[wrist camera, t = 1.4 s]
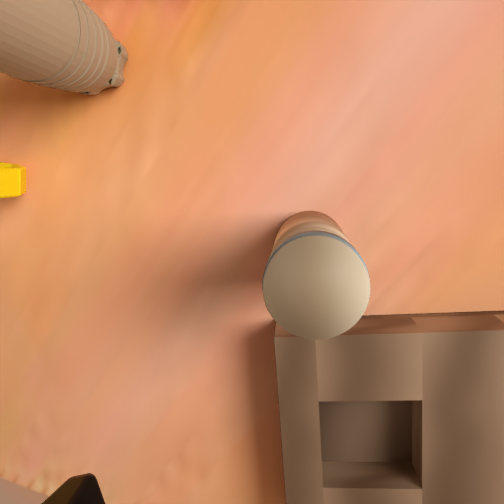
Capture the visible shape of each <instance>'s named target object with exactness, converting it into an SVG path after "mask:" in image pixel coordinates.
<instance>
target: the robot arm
mask: <svg viewBox="0 0 504 504" xmlns="http://www.w3.org/2000/svg"><path fill="white" fill-rule="evenodd" d="M42 504H105V502H104V499H103V496H102V493H101V490H100V487H99V485H98V482H97V479H96V477H95V476H94V475H93V474H91V473H88V474H83V475H78V476H74V477H71V478H69V479H68V480H67V481H66V482H65V483H64V484H63V485H61V486H60V487H59V488H58V489H57V490H56V491H55V492H54V493H53V494H52V495H51V496H50V497H48V498H47V499H46V500H45V501H44V502H43V503H42Z"/></svg>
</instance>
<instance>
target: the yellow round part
mask: <svg viewBox="0 0 504 504" xmlns="http://www.w3.org/2000/svg"><path fill="white" fill-rule="evenodd" d="M25 192H26V168H25V167H24V166H21V165H18V164H10V163H3V162H0V198H9V197H17V196H20V195H22V194H24V193H25Z"/></svg>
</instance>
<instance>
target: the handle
mask: <svg viewBox="0 0 504 504" xmlns="http://www.w3.org/2000/svg"><path fill="white" fill-rule="evenodd" d="M127 60H128V54H127V51H126V49H125V47H124V46H123V45H122V44H121V43H119V42H117V41H116V40H115V39H114V38H113V35H112V33H111V32H110V30H109V29H108V28H107V26H106V25H105V23H104V22H103V21H102V20H101V19H100V18H99V17H98V16H97V15H96V13H95V12H94V11H93V10H92V9H91V8H89V7H88V6H87V5H86V4H85V3H84V2H83V1H82V0H0V72H1V73H4V74H6V75H9V76H11V77H14V78H17V79H21V80H23V81H27V82H31V83H34V84H37V85H42V86H45V87H50V88H55V89H60V90H65V91H72V92H79V93H82V94H88V95H98V94H99V93H100V92H101V91H102V90H104V89H106V88H109V87H120V86H121V84H122V83H123V81H124V78H123V68H124V64H125V62H126V61H127Z"/></svg>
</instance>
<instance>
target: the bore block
mask: <svg viewBox="0 0 504 504" xmlns="http://www.w3.org/2000/svg"><path fill="white" fill-rule="evenodd" d="M274 344H275V358H276V371H277V385H278V399H279V413H280V426H281V440H282V454H283V468H284V481H285V495H286V504H504V311H483V312H455V313H428V314H400V315H372V316H362V317H361V318H360V319H359V321H358V322H357V323H356V324H355V325H354V326H353V327H351V328H350V329H349V330H347V331H346V332H344V333H342V334H340V335H338V336H335V337H332V338H328V339H320V340H313V339H305V338H301V337H298V336H296V335H293V334H291V333H289V332H288V331H286V330H285V329H283V328H282V327H281V326H280V325H279V324H278V323H276V327H275V334H274Z"/></svg>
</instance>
